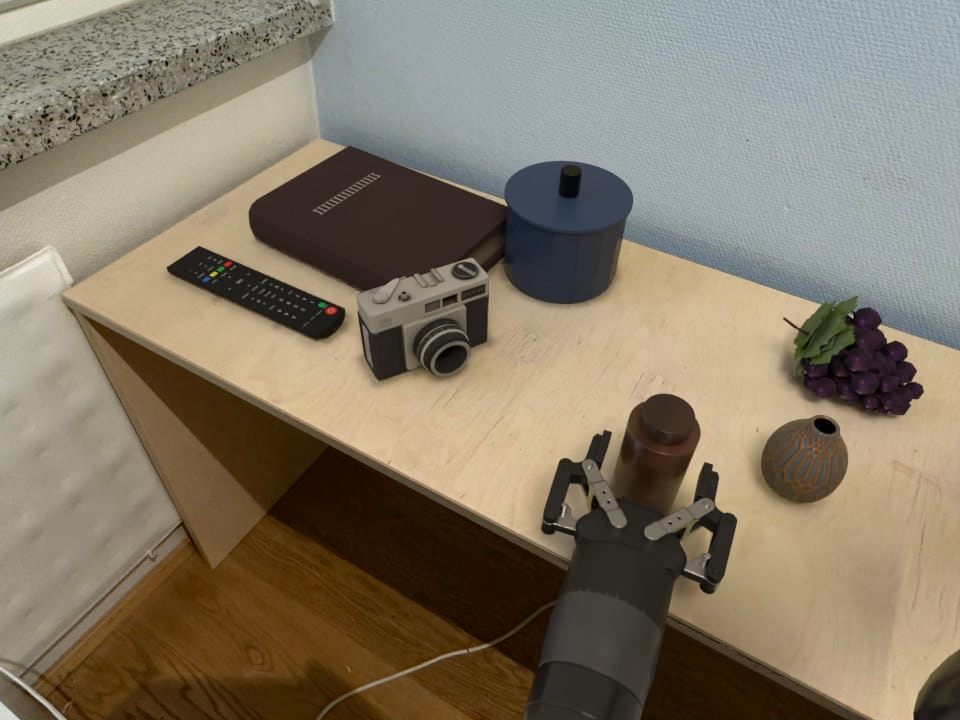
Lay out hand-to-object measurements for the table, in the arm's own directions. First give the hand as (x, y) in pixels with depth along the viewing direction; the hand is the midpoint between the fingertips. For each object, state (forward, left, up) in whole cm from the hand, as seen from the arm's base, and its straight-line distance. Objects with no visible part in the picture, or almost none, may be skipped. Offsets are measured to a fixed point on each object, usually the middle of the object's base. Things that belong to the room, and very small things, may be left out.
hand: (655, 452), depth 57 cm
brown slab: (+42, -21, -7) cm, 48 cm away
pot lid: (+20, -28, +3) cm, 35 cm away
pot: (+20, -28, -7) cm, 35 cm away
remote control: (+50, -5, -7) cm, 51 cm away
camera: (+26, -6, -7) cm, 28 cm away
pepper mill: (0, +1, -7) cm, 7 cm away
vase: (-12, -8, -7) cm, 16 cm away
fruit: (-14, -23, -7) cm, 28 cm away
